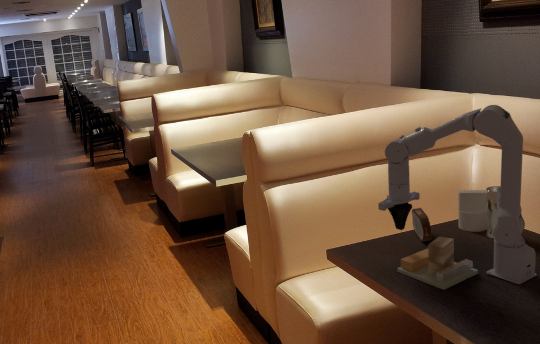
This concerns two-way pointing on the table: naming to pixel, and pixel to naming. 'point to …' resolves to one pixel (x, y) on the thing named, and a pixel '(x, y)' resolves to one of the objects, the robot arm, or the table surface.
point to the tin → (421, 224)
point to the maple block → (440, 254)
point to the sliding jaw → (415, 261)
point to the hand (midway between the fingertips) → (400, 228)
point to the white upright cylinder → (472, 210)
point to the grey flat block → (443, 274)
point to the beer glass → (492, 208)
